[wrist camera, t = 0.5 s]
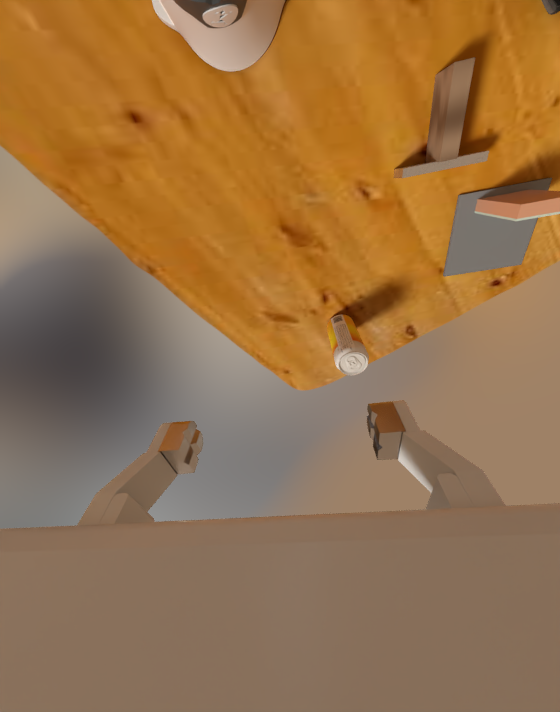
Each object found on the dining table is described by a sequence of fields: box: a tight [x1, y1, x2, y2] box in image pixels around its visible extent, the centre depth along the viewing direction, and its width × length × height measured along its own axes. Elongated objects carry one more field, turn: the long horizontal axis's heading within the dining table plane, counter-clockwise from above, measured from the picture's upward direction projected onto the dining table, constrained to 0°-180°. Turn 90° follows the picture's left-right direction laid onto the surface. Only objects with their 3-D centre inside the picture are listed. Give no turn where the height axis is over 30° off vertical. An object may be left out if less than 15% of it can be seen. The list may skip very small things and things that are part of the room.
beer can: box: [327, 314, 369, 375], centre depth 52 cm, size 6×6×15 cm
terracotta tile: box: [475, 190, 560, 221], centre depth 39 cm, size 2×8×10 cm, turn 100°
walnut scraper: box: [394, 57, 489, 178], centre depth 37 cm, size 11×12×5 cm
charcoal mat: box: [443, 178, 552, 276], centre depth 46 cm, size 14×14×1 cm
